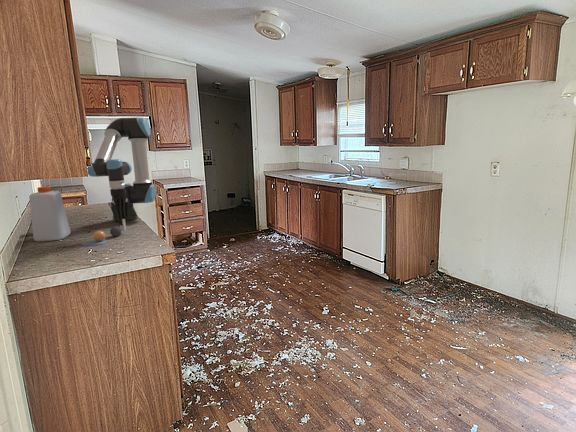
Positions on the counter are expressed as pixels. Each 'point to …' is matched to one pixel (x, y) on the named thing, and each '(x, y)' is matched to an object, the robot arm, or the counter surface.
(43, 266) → the counter surface
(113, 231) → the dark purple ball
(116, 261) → the counter surface
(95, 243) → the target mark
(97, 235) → the orange ball
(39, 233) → the plastic bottle
